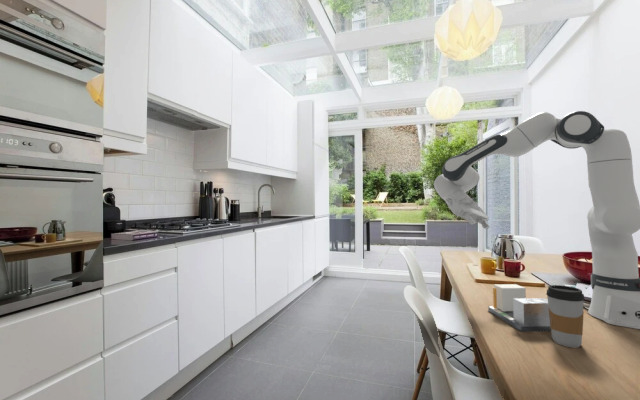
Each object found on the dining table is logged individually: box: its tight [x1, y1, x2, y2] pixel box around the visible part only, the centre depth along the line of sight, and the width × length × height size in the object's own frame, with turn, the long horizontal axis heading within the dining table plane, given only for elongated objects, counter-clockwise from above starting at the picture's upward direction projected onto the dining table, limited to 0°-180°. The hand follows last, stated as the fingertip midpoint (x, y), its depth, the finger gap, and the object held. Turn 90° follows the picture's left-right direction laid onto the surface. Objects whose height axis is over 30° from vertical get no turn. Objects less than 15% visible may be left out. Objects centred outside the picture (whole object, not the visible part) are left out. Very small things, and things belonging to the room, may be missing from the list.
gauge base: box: [487, 297, 551, 333], centre depth 100 cm, size 18×12×8 cm, turn 179°
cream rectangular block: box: [492, 283, 527, 311], centre depth 106 cm, size 6×10×8 cm, turn 89°
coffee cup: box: [545, 284, 586, 348], centre depth 83 cm, size 8×8×15 cm
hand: (480, 225), depth 117 cm, fingers open, 8 cm apart
